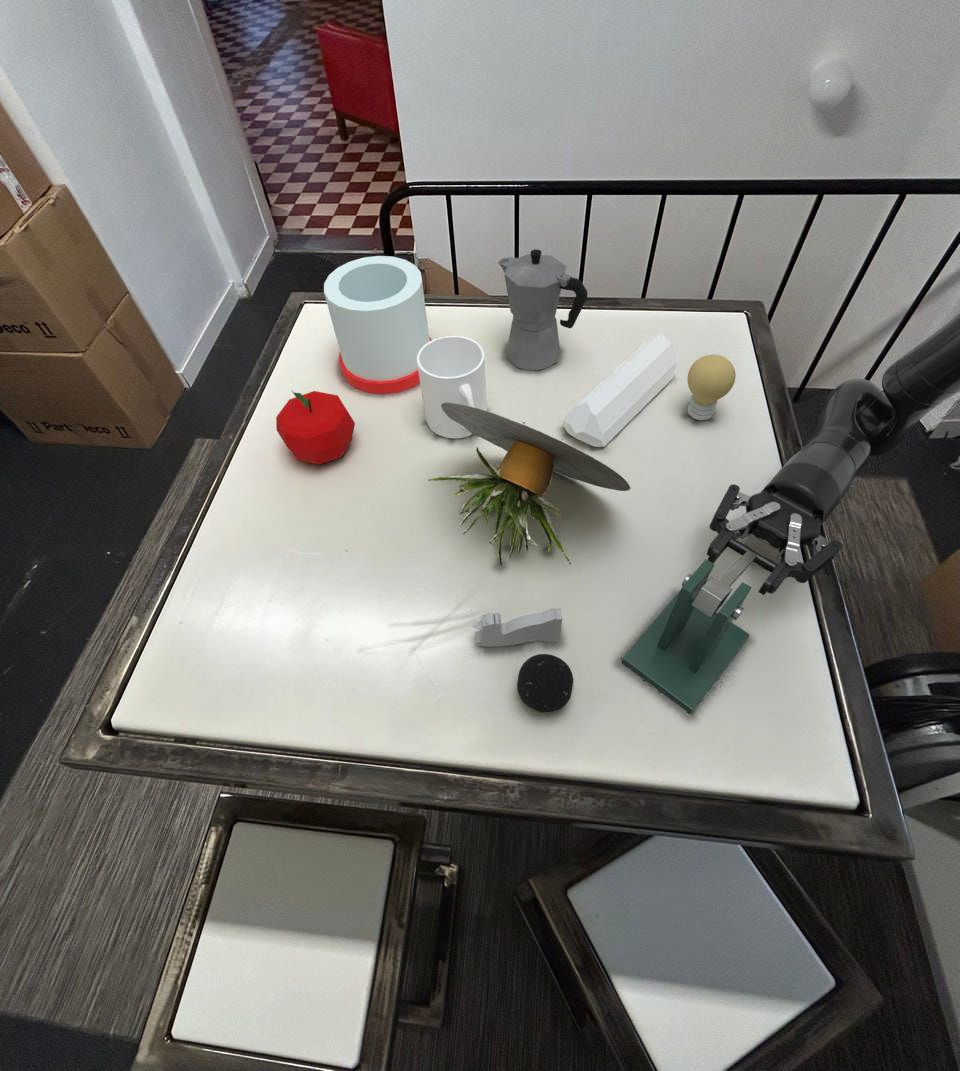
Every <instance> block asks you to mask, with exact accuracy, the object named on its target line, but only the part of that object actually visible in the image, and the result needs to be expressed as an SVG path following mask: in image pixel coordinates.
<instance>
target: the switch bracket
mask: <svg viewBox="0 0 960 1071" xmlns="http://www.w3.org/2000/svg"><path fill="white" fill-rule="evenodd" d="M714 567H715V563H714V564H713V563H711V562H710V561H708V558H707V559H706V558H705V559H704V560H703V562H702V563H701V564H700V565H699V566H698V567H697V569H696V570H694V572H693V573H692V574H690V573H689V574H687V575H686V577H684V579H683V581H682V582H681V588H680V590H679V591H678V593H677V594H676V595H675V596H674V597H673V598H672V600H671V601H669V603H668V605H666V607H665V608H664V609H663V610H662V611H661V612H660V613H659V615H658V616H657V617H656V618H655V619H654V620H653V622H652V623H651V624H650V626H648V628H646V630H645V631H644V632H643V633H642V635H641V636H640V637H639V638H638V639H637V640H636V641H635V643H634V644H633V645H632V646H631V647H630V649H629V650H628V651H627V652H626V654H624V655H623V657H622V659H621V664H623V665H624V666H625V667H626V668H628V669H629V670H631V671H632V672H633V673H635V674H636V675H637V676H639V677H640V678H641V679H642V680H644V681H646V682H647V683H648V684H649V685H651V687H653V688H655V689H656V690H657V691H659V692H660V693H661V694H663V695H664V696H665V697H667V698H668V699H669V700H671V701H672V702H673V703H674V704H676V705H678V706H679V707H680V708H681V709H683V710H684V711H685V712H687V714H690V715H692V713H694V711H695V710H696V708H697V707H698V705H699V704H700V703H701V701H702V700H704V698H705V696H707V693H709V691H710V689H711V688H712V687H713V686H714V685H715V683H716V682H717V680H718V679H719V678H720V677H721V675H722V673H723V672H724V671H725V669H726V668H727V667H728V666H729V664H730V663H731V662H732V660H733V659H734V657H735V656H736V655H737V654H738V652H739V651H740V650H741V648H742V647H743V645H745V643H746V641H747V640H748V638H749V637H750V633H748V632H747V631H745V630H744V629H742V628H741V627H740V626H737V625H736V624H735V623H733V620H734V621H737V620H738V618H739V617H740V616H741V615H742V613H743V611H744V608H743V607H742V606H743V604H744V602H745V600H746V599H747V597H748V595H749V594H750V592H751V590H752V588H753V587H752V586H750V585H749V584H747V583H746V582H744V581H741V583H740V584H739V586H738V587H737V588H736V589H735V591H734V592H733V593H732V594H731V596H730V597H729V598H727V600H726V601H725V602H724V603H723V605H722V606H721V607H720V609H719V610H718V611H717V612H716V613H715V614H714V615H713V616H712V617H709V616H707V615H706V614H704V613H703V612H701V611H700V610H698V609H697V608H695V607H694V606H692V603H693V601H694V599H695V598H696V596H697V594H698V593H699V591H700V589H701V588H702V587H703V586H704V585H705V584H706V583H707V582H708V581H709V578H710V575H711V574H712V572H713V569H714Z"/></svg>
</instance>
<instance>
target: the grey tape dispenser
mask: <svg viewBox="0 0 960 1071" xmlns="http://www.w3.org/2000/svg"><path fill="white" fill-rule="evenodd" d="M501 618H502V616H501V614H500V613H499V612H489V613H486V614H482V615H481V620H479V621H478V622H476V623H474V624H472V625H471V627H472V628H474V629H477V630H478V631H475V632H474V639H475V645H476V646H478V647H479V646H481V647H484V648H485V647H487V648H489V647H490V648H503V647H509V646H511V647H512V646H516V645H520V644H525V643H529V642H541V641H543V642H547V643H553V642H555V643H559V642H560V638H561V630H562V626H563V620H564V619H563V618H564V617H563V613H562V607H556V608H554V607H552V608H549V609H546V610H543V611H541V612H535V613H530V614H526V615H522V616H519V617H516V618H514V619H511V620H509V621H506V622H502V619H501Z"/></svg>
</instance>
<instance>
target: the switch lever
mask: <svg viewBox="0 0 960 1071" xmlns="http://www.w3.org/2000/svg"><path fill="white" fill-rule="evenodd" d="M727 549H730V550H731V551H734V552H735V553H737V554H738V555H740V556H741V557H740V558H739V559H738V560H737V561H736V562H735V563H734V564H733V565H732V566H731V567H730V568H729V569H728V570H727V571H726V572H725V573H724V574H723V575H722V576H721V577H720V578H719V579H718V578H716V576H711V577H710V578H709V579H708V580H707V582H706V584H705V585H704V586H703V587H702V588H701V589H700V591H699V593H698V594H697V596H696V598H695V599H694V601H693V603H692V606H694V607H695V608H697V609H698V610H700V611H701V612H703V613H704V614H706V615H707V616H709V617H712V616H713V615H714V614H715V613H718V612H719V611H720V609H721V608H722V607H723V606H724V604H725V603H726V601H727V600H728V597H729V595H731V592H732V591H733V587H732V586H733V585H734V583H736V581H737V580H738V579H739V578H740V577H741V576H742V575H743V574H744V572H745V571H747V569H748V568H750V566H751V565H752V564H753V563H754V564H755V565H757V566H758V567H759V568H762V569H763V570H765V571H767V572H768V573H770V574H771V573H772V571H773V570H774V569H775V568H776V566H777V565H778V562H775V561H774V560H772V559H770V558H769V557H767V556H766V555H764V554H762V553H760V552H758V551H757V550H756V549H754V548H752V547H750V546H748V545H747V544H745V543H743V542H741V541H740V540H739V539H737V540H736V539H735V538H733V537H732V538H731V539H730V540H729V542H728V543H727Z"/></svg>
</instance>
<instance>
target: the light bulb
mask: <svg viewBox="0 0 960 1071" xmlns="http://www.w3.org/2000/svg"><path fill="white" fill-rule="evenodd" d="M686 378H687V386H688V390H689V391H690V393H691V395H690V400H689V402H688V406H687V413H688V415H689V416H690V417H691V418H692V419H694V420H697V421H706V420H709V419H710V418H712V416H714V412H715V410H716V406H717V403H718V400H720V399H722V398H724V397H725V396H726V395H728V393H730V392H731V390H732V388H733V386H734V384H735V382H736V369H735V367H734V365H733V363H732V362H731V361H730V360H729V359H728V358H727V357H725V356H723V355H721V354H715V353H714V354H707V355H703V356H701V357H699V358H698V359H696V360H695V361H694V362H692V364H691V366H690V368H689V369H688V373H687V376H686Z"/></svg>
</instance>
